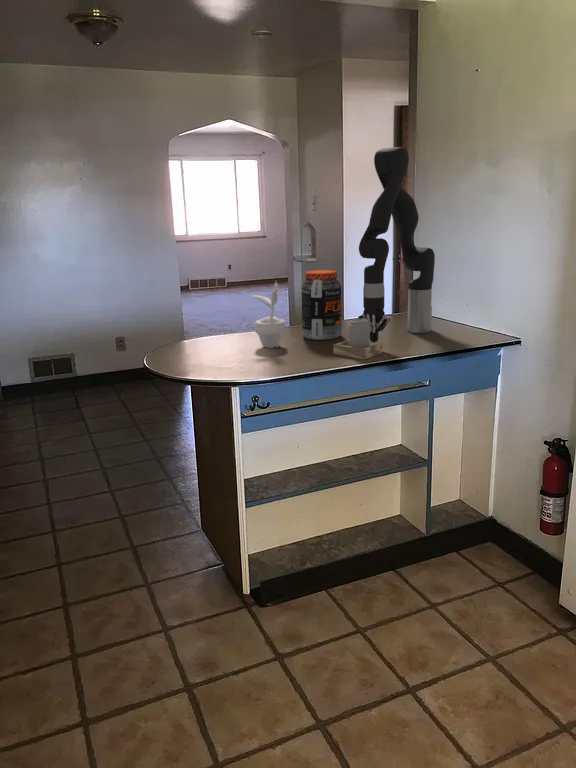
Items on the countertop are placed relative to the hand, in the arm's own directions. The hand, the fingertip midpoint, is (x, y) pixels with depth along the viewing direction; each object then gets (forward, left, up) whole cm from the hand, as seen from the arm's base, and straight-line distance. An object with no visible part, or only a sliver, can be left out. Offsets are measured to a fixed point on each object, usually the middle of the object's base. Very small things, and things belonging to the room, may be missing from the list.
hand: (374, 341), depth 232 cm
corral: (+10, 0, -2) cm, 10 cm away
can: (+9, 0, -2) cm, 9 cm away
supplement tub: (-4, -28, -2) cm, 28 cm away
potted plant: (+20, -34, -2) cm, 39 cm away
